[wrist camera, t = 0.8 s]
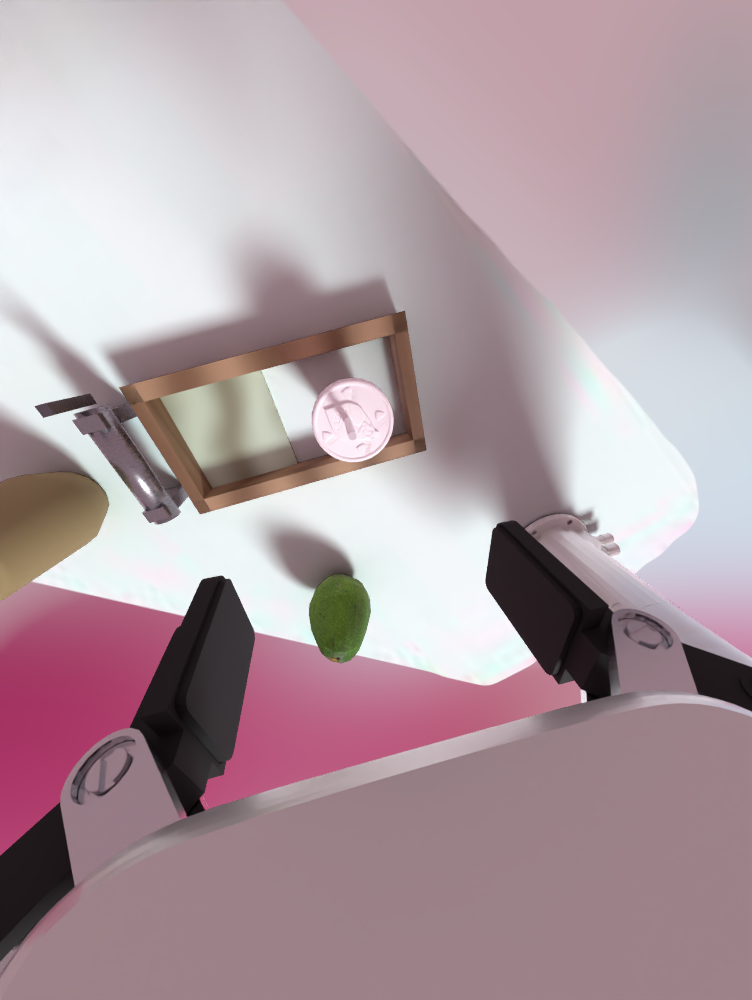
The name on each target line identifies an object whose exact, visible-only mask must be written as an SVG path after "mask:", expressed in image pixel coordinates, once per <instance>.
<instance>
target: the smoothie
mask: <svg viewBox="0 0 752 1000" xmlns="http://www.w3.org/2000/svg"><path fill="white" fill-rule="evenodd" d="M393 423H394V418H393V412H392V408H391V405H390V403H389V401H388V399H387V398H386V396H385V395H384V394H383V392H382V391H381V390H380V389H379V388H378V387H376V386H375V385H374V384H372V383H371V382H368V381H366V380H363V379H358V378H346V379H341V380H338V381H336V382H334V383H332V384H330V385H328V386H327V387H326V388H325V389H324V390H323V391H322V392H321V393H320V395H319V396H318V398H317V400H316V401H315V404H314V407H313V411H312V426H313V432H314V435H315V437H316V440H317V441H318V443H319V445H320V446H321V447H322V448H323V450H324V451H326V452H327V453H328V454H329V455H331V456H332V457H334V458H336V459H339V460H342V461H346V462H360V461H364V460H367V459H370V458H372V457H373V456H375V455H376V454H378V453H379V452H380V451H381V450H382V449H383V448H384V447H385V446H386V444H387V443H388V441H389V439H390V437H391V434H392V430H393Z"/></svg>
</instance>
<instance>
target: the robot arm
mask: <svg viewBox="0 0 752 1000" xmlns="http://www.w3.org/2000/svg"><path fill="white" fill-rule="evenodd" d="M613 541H614V538H613V536H612V535H611V534H610V533H607V534H603V535H600V536H598V537H594V536H591V535H590V534H589V533H588V531H587V528H586V526H585V525H584V523H583V522H581V521H580V520H579V519H577V518H576V517H574V516H572V515H568V514H554V515H550V516H546V517H543V518H541V519H539V520H537V521H535V522H534V523H532V524H530V525H529V526H528V527H526V528H525V529H524V528H523V527H522V526H521V525H520V524H519V523H517V522H516V521H507V522H502V523H498V524H497V526H496V528H494V529H493V531H492V538H491V545H490V552H489V559H488V566H487V573H486V581H485V582H486V586H487V589H488V590H489V592H490V593H491V595H492V596H493V598H494V599H495V600H496V602H497V603H498V605H499V606H500V608H501V609H502V611H503V612H504V613H505V615H506V616H507V618H508V619H509V621H510V622H511V623H512V625H513V626H514V628H515V629H516V631H517V632H518V634H519V635H520V636H521V638H522V639H523V641H524V642H525V644H526V645H527V646H528V648H529V649H530V651H531V652H532V654H533V655H534V657H535V658H536V659H537V661H538V662H539V664H540V665H541V667H542V668H543V669H544V671H545V672H546V673H547V674H549V675H552V676H553V677H554V678H555V680H556V681H557V683H558V684H563V683H566V682H570V681H574V680H575V682H576V683H577V684H578V686H579V687H580V688H581V703H580V704H577V705H573V706H569V707H564V708H560V709H557V710H553V711H550V712H546V713H542V714H539V715H535V716H531V717H528V718H524V719H520V720H517V721H513V722H509V723H506V724H502V725H499V726H495V727H491V728H488V729H484V730H480V731H477V732H473V733H469V734H466V735H462V736H459V737H455V738H452V739H448V740H444V741H441V742H438V743H434V744H430V745H426V746H423V747H419V748H416V749H412V750H409V751H405V752H402V753H398V754H395V755H391V756H387V757H384V758H380V759H377V760H373V761H370V762H366V763H363V764H359V765H356V766H352V767H349V768H345V769H342V770H338V771H335V772H331V773H328V774H325V775H321V776H318V777H314V778H310V779H307V780H303V781H300V782H296V783H293V784H290V785H286V786H282V787H279V788H276V789H272V790H269V791H266V792H262V793H259V794H256V795H253V796H250V797H246V798H243V799H240V800H236V801H233V802H230V803H227V804H223V805H220V806H217V807H214V808H211V809H209V808H208V806H207V804H206V802H205V800H204V798H203V796H202V795H203V794H204V793H205V788H206V784H207V780H208V779H209V778H213V777H217V776H221V775H223V774H224V769H225V764H226V761H227V760H230V759H231V758H232V755H233V752H234V747H235V742H236V737H237V731H238V726H239V721H240V715H241V710H242V705H243V699H244V693H245V689H246V683H247V678H248V673H249V667H250V662H251V657H252V651H253V646H254V640H255V635H254V630H253V627H252V625H251V623H250V621H249V619H248V617H247V614H246V612H245V610H244V608H243V606H242V603H241V601H240V599H239V597H238V595H237V592H236V590H235V588H234V586H233V584H232V582H231V580H230V579H225V578H224V577H223V576H216V577H211V578H206V579H203V580H202V581H201V582H200V584H199V587H198V589H197V591H196V593H195V595H194V598H193V600H192V602H191V604H190V606H189V609H188V611H187V613H186V615H185V618H184V620H183V622H182V624H181V626H179V627H178V628H177V629H176V630H175V632H174V634H173V636H172V638H171V640H170V642H169V644H168V647H167V649H166V651H165V653H164V655H163V657H162V659H161V661H160V664H159V666H158V668H157V670H156V672H155V675H154V677H153V679H152V681H151V683H150V685H149V687H148V689H147V692H146V694H145V696H144V698H143V700H142V702H141V705H140V707H139V709H138V711H137V713H136V715H135V717H134V720H133V722H132V724H131V726H130V728H127V729H121V730H119V731H116V732H114V733H112V734H110V735H108V736H107V737H105V738H104V739H102V740H101V741H99V742H98V743H96V744H95V745H94V746H93V747H92V748H91V749H90V750H89V751H88V752H86V753H85V754H84V756H83V757H82V758H81V759H80V761H79V762H78V763H77V764H76V765H75V767H74V768H73V770H72V771H71V773H70V774H69V776H68V778H67V779H66V782H65V784H64V787H63V790H62V792H61V802H60V803H59V804H58V805H56V807H54V808H53V809H52V810H51V811H50V812H49V813H48V814H46V815H45V816H44V817H43V818H42V819H41V820H40V821H39V822H37V823H36V824H35V825H34V826H33V827H32V828H31V829H30V830H29V831H27V832H26V833H25V834H24V835H23V836H22V837H21V838H20V839H18V840H17V841H16V842H15V843H14V844H13V845H12V846H11V847H10V848H8V849H7V850H6V851H5V852H4V853H3V854H2V855H1V856H0V1000H752V658H751V657H750V656H748V655H746V654H745V653H743V652H742V651H740V650H739V649H737V648H736V647H734V646H733V645H731V644H730V643H728V642H727V641H726V640H724V639H723V638H721V637H720V636H718V635H717V634H716V633H714V632H713V631H711V630H710V629H708V628H707V627H705V626H704V625H703V624H701V623H700V622H699V621H697V620H696V619H694V618H693V617H692V616H690V615H689V614H687V613H686V612H685V611H683V610H682V609H680V608H679V607H678V606H676V605H675V604H674V603H673V602H671V601H670V600H669V599H667V598H666V597H664V596H663V595H662V594H660V593H659V592H658V591H656V590H655V589H653V588H652V587H651V586H650V585H648V584H647V583H645V582H644V581H643V580H641V579H640V578H639V577H637V576H636V575H635V574H633V573H632V572H631V571H629V570H628V569H627V568H625V567H624V566H622V565H621V564H620V563H618V562H617V561H616V560H614V559H613V558H612V557H611V556H614V555H618V554H620V548H619V546H618V545H617V544H616V543H614V542H613ZM602 544H604V545H602Z"/></svg>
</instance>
